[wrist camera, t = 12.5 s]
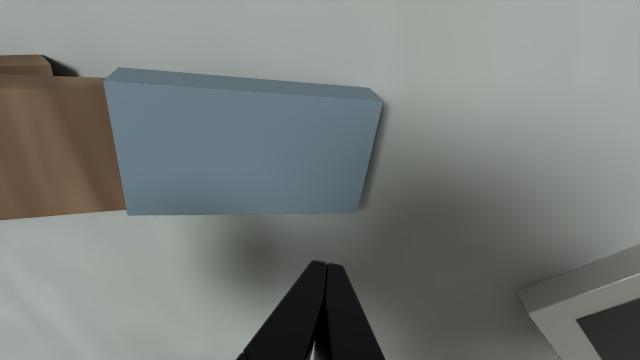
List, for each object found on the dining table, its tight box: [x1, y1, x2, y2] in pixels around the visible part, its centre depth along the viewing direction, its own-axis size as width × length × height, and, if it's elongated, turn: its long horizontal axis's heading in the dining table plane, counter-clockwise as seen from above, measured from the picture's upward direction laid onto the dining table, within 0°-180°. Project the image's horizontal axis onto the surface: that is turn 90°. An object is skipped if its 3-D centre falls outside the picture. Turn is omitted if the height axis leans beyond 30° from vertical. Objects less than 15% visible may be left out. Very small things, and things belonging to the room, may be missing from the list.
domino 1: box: [0, 74, 126, 220], centre depth 13 cm, size 2×5×9 cm
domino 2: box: [103, 68, 383, 215], centre depth 13 cm, size 2×5×9 cm
